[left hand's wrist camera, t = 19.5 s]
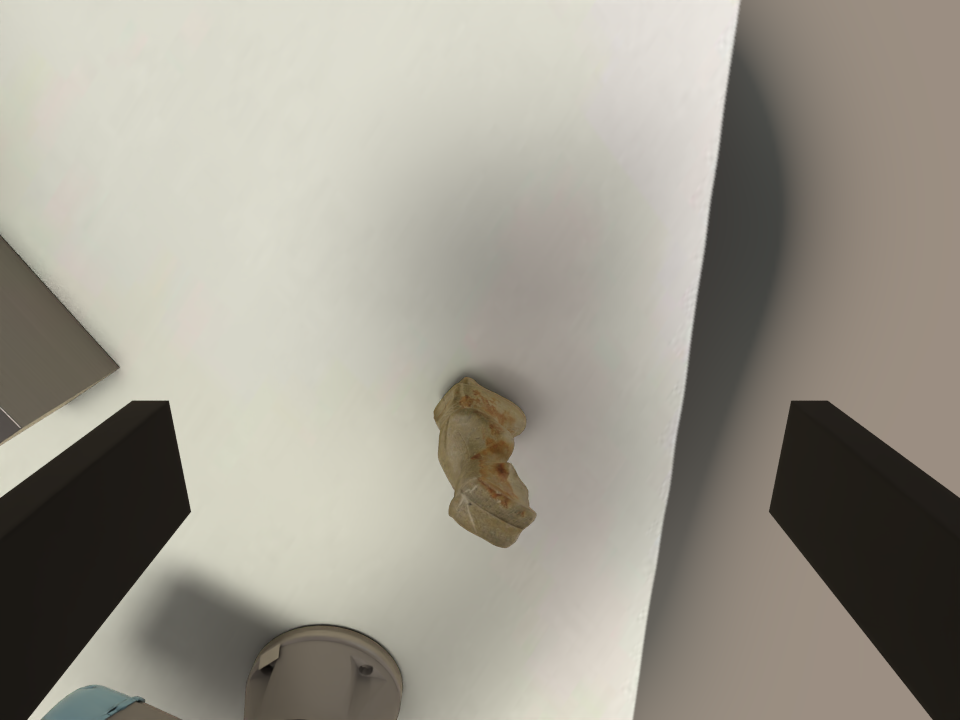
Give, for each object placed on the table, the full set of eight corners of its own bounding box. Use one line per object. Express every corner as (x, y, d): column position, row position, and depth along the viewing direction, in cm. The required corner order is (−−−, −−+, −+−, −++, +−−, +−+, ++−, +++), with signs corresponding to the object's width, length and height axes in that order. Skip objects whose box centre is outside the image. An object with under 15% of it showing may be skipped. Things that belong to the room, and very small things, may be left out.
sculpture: (490, 454, 51) (494, 574, 36) (425, 405, 49) (403, 510, 35) (535, 407, 49) (558, 514, 35) (469, 355, 47) (465, 444, 33)
